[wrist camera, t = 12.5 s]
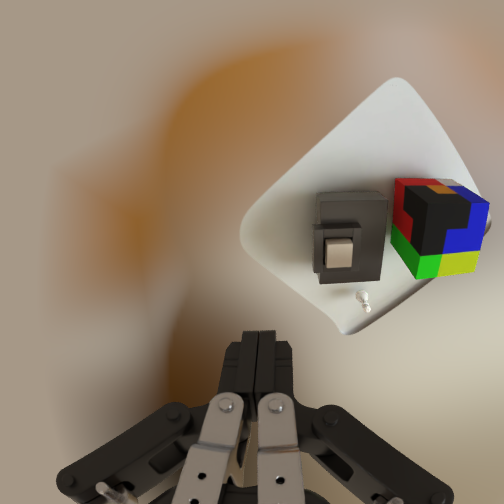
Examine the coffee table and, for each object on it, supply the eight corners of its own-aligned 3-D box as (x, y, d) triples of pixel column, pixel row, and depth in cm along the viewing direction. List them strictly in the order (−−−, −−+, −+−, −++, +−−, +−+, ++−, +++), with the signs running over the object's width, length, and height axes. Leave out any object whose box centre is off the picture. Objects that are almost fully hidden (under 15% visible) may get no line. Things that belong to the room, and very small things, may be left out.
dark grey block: (308, 192, 39) (313, 206, 34) (378, 191, 38) (393, 204, 33) (309, 269, 44) (313, 292, 39) (372, 266, 43) (383, 287, 38)
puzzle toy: (451, 179, 35) (489, 203, 27) (443, 238, 40) (474, 271, 31) (395, 178, 36) (428, 203, 28) (390, 242, 41) (415, 279, 32)
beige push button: (325, 238, 36) (327, 244, 34) (349, 237, 36) (353, 243, 34) (324, 261, 37) (326, 268, 36) (348, 260, 37) (351, 266, 35)
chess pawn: (352, 294, 46) (358, 309, 42) (362, 287, 45) (368, 302, 41) (360, 302, 47) (366, 318, 43) (370, 296, 46) (376, 311, 42)
